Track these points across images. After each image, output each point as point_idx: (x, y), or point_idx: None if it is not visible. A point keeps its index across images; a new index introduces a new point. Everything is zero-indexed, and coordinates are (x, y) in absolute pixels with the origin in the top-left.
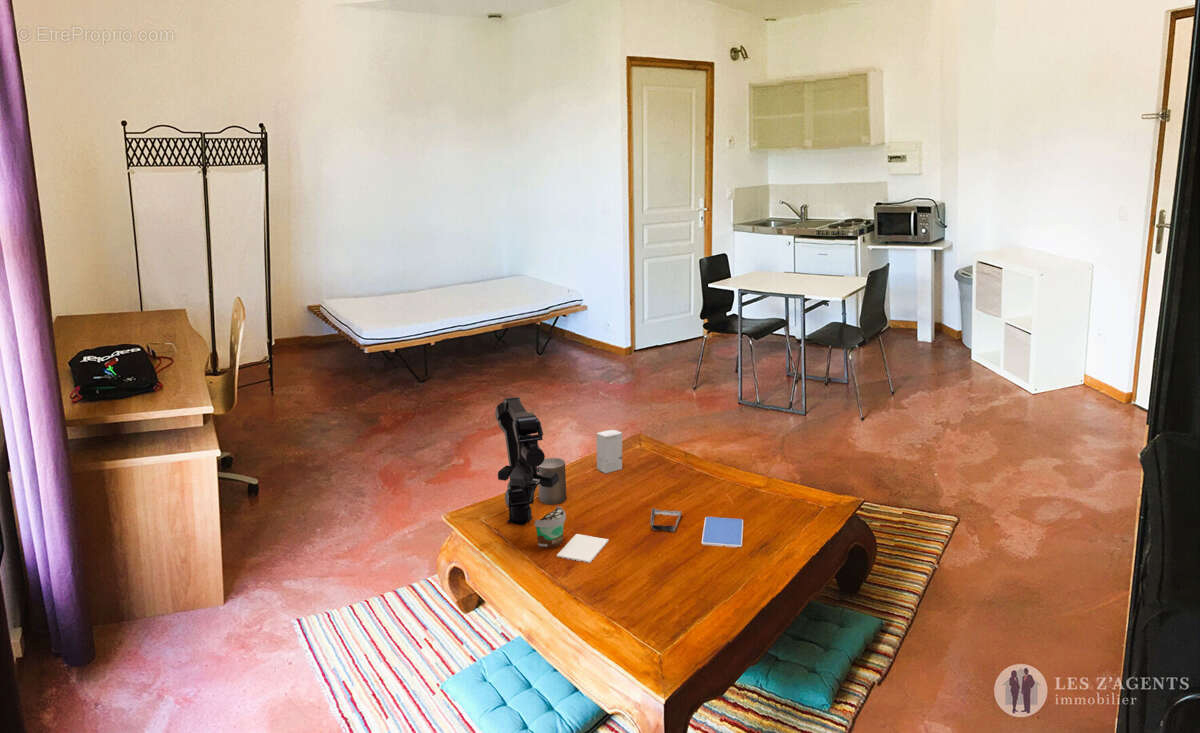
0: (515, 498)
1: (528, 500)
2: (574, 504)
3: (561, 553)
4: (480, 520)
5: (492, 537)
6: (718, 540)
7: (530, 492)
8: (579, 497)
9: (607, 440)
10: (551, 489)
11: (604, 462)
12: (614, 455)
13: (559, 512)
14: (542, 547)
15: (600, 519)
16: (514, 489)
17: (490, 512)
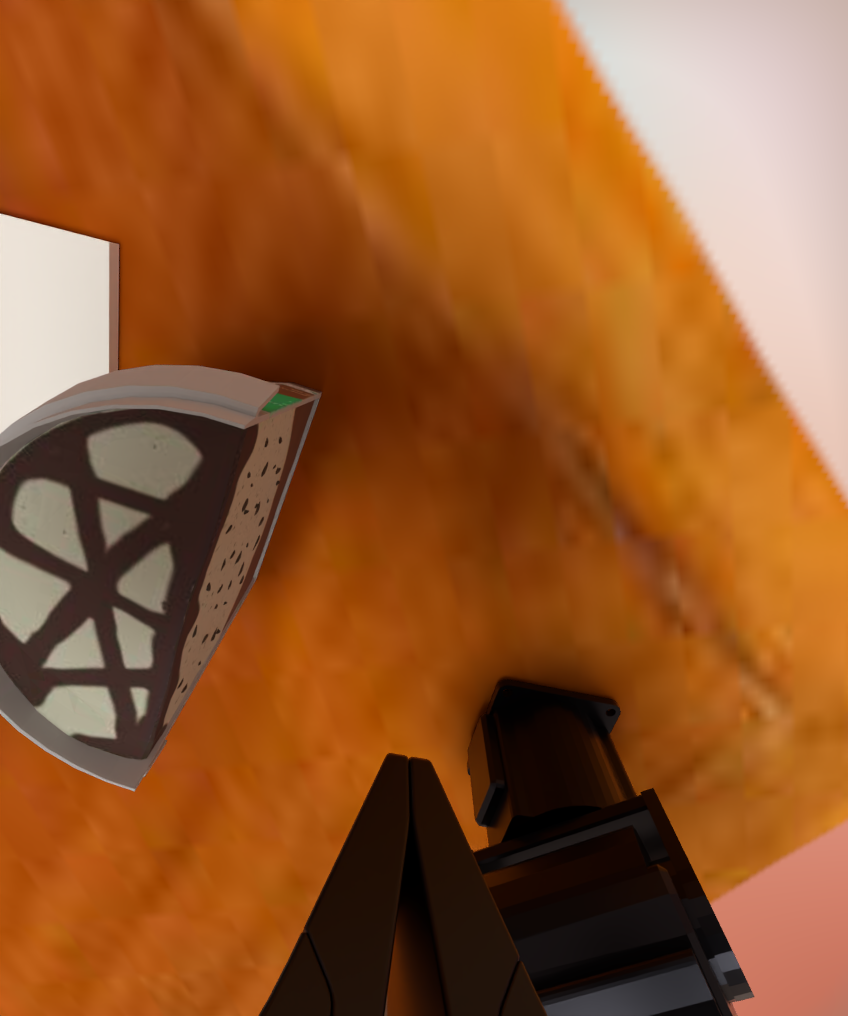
0: (624, 874)
1: (406, 778)
2: (273, 900)
3: (81, 281)
4: (790, 708)
5: (698, 507)
6: None
7: (306, 983)
8: (272, 954)
9: None
10: (386, 1007)
11: None
12: None
13: (71, 687)
14: (283, 382)
15: (62, 785)
16: (679, 1012)
17: (730, 793)
